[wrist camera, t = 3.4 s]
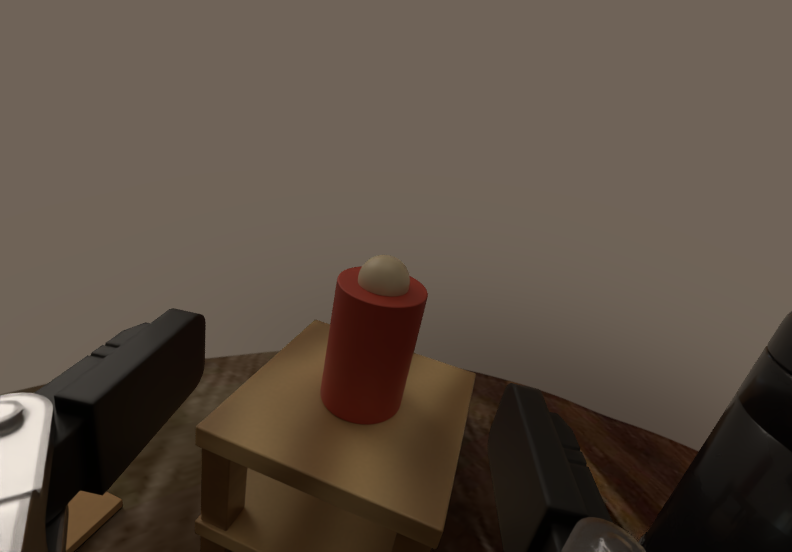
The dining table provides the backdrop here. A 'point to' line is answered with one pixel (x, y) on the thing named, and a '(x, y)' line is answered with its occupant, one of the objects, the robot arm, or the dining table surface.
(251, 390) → the shelf
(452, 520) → the dining table surface
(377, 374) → the toy figure
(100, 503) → the cork mat
